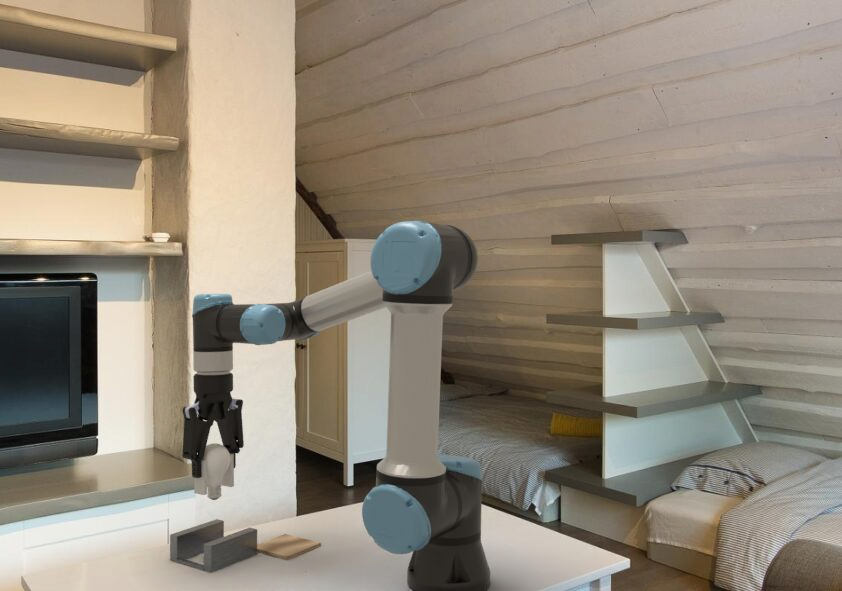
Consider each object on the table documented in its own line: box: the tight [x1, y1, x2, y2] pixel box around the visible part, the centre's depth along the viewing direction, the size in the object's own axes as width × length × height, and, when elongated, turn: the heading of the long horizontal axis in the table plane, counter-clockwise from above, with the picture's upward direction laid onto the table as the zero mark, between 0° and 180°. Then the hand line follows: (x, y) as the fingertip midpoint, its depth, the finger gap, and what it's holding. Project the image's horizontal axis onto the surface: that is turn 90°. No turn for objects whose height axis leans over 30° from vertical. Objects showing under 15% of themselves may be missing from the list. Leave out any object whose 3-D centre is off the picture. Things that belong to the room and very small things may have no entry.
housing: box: [169, 518, 258, 573], centre depth 157 cm, size 12×12×5 cm
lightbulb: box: [203, 442, 231, 501], centre depth 156 cm, size 6×6×11 cm
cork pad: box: [257, 533, 322, 561], centre depth 163 cm, size 10×10×1 cm
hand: (214, 489), depth 156 cm, fingers closed on lightbulb, 6 cm apart
